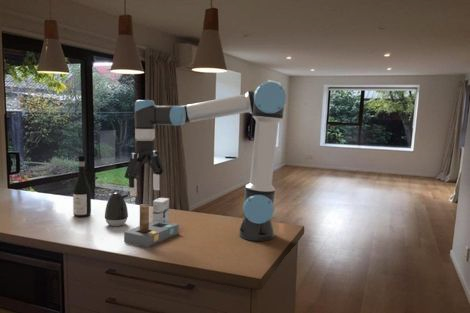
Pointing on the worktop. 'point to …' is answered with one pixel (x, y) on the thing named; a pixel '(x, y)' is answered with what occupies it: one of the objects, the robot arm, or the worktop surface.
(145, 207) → the walnut plug
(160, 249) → the worktop surface
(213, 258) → the worktop surface
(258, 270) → the worktop surface
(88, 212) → the wine bottle
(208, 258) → the worktop surface
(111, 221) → the pump dispenser
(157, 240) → the socket box
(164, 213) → the ink box
